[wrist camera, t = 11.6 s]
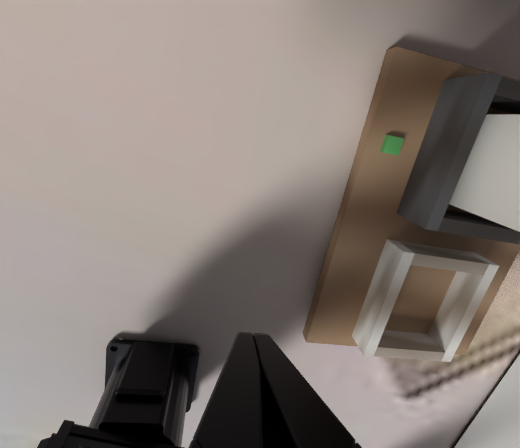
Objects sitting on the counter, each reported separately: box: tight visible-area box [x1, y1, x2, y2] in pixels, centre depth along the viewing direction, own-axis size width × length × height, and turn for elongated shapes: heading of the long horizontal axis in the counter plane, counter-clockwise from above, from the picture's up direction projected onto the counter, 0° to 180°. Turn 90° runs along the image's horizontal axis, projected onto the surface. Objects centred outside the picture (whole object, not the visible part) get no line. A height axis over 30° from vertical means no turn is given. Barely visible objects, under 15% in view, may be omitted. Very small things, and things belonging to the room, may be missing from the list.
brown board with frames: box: [303, 46, 520, 362], centre depth 19 cm, size 20×14×4 cm
